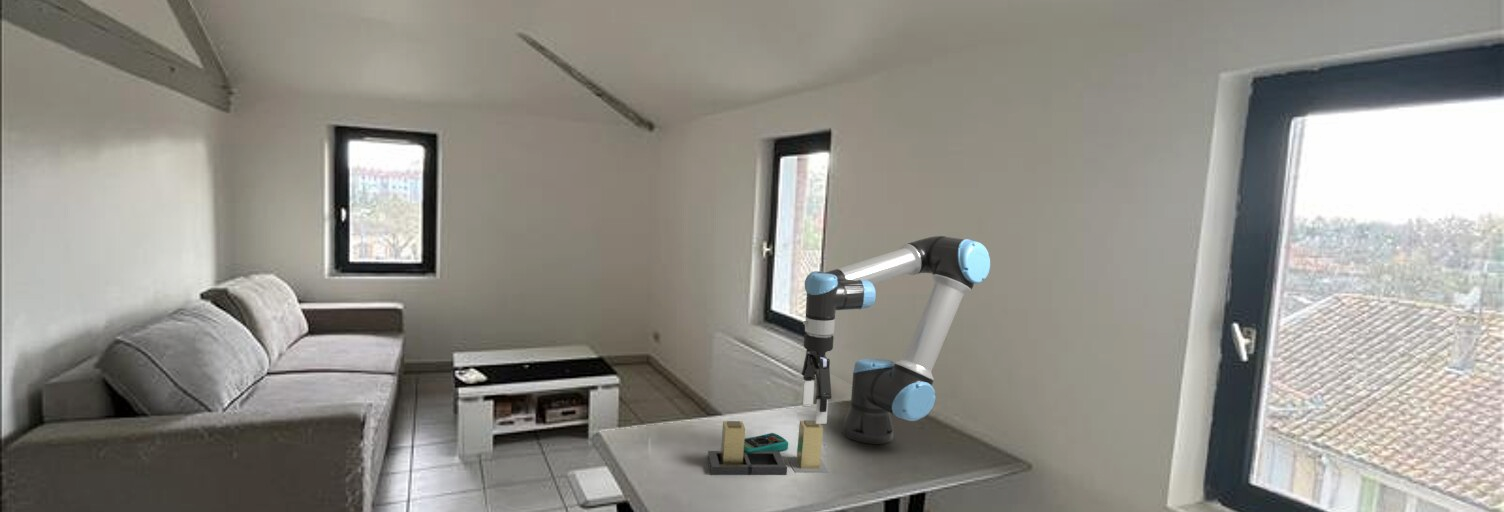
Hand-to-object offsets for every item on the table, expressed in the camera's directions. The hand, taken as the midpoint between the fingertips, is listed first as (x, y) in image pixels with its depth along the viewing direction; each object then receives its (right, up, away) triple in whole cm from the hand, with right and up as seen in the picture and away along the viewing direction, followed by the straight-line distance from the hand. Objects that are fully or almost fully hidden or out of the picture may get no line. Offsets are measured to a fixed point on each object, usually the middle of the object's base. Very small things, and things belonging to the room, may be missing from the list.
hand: (814, 413), depth 177 cm
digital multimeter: (-14, -12, +9) cm, 20 cm away
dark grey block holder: (-18, -13, -3) cm, 22 cm away
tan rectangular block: (-2, -14, +1) cm, 14 cm away
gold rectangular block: (-22, -13, -3) cm, 25 cm away
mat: (-2, -14, +1) cm, 14 cm away
